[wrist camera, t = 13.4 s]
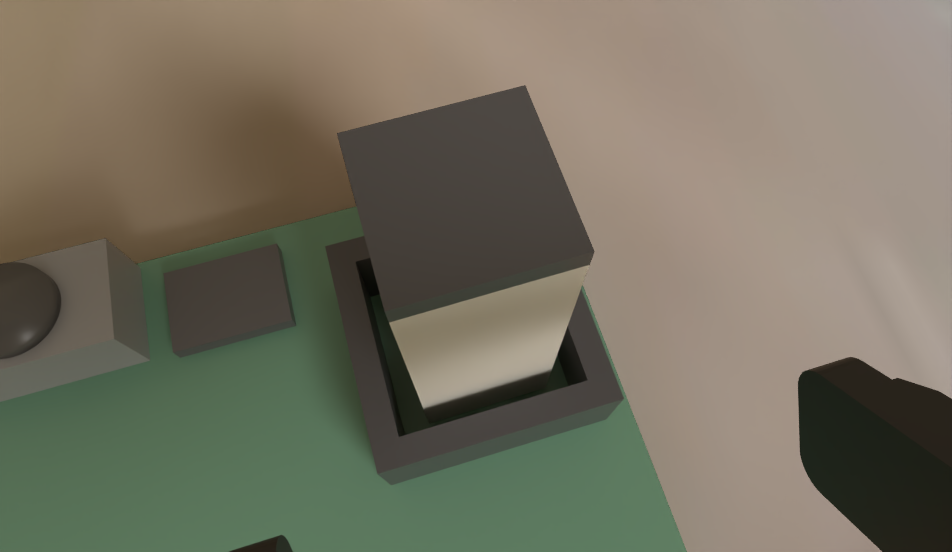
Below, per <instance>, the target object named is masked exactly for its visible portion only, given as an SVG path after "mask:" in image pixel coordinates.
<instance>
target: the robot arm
mask: <svg viewBox="0 0 952 552" xmlns="http://www.w3.org/2000/svg"><path fill="white" fill-rule="evenodd" d="M798 400H799V435H800V455H801V459H802V463H803V466H804V468H805V471H806V473H807V475H808V477H809V478H810V480H811V482H812V483H813V484H814V486H815V487H816V488H817V490H818V491H819V492H820V493H821V494H822V495H823V496H824V497H825V498H826V499H827V500H829V501H830V502H831V503H832V504H833V505H834V506H835V507H836V508H837V509H838V510H839V511H840V512H841V513H842V514H843V515H844V516H845V517H846V518H848V519H849V520H850V521H851V522H852V523H853V524H854V525H855V526H856V527H857V528H858V529H859V530H860V531H861V532H862V533H863V534H864V535H865V536H867V537H868V538H869V539H870V540H871V541H872V542H873V543H874V544H875V545H876V546H877V547H878V548H879V549H880V550H881V551H882V552H952V399H951V398H949V397H948V396H946V395H944V394H943V393H941V392H939V391H936V390H933V389H930V388H927V387H924V386H921V385H918V384H915V383H912V382H909V381H906V380H902V379H899V378H896V379H893V380H892V379H890V378H889V377H887V376H885V375H884V374H882V373H881V372H879V371H877V370H876V369H874V368H873V367H871V366H869V365H868V364H866V363H865V362H863V361H861V360H859V359H857V358H853V357H849V358H845V359H842V360H838V361H835V362H832V363H829V364H826V365H823V366H819V367H816V368H813V369H810V370H807V371H804V372H803V373H802V374H801V375H800V377H799V381H798ZM229 552H293V551H292V548H291V546H290V544H289V542H288V540H287V539H286V537H285V536H283V535H279V536H276V537H273V538H270V539H266V540H263V541H260V542H257V543H254V544H251V545H247V546H244V547H241V548H238V549H235V550H232V551H229Z"/></svg>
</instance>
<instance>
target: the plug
mask: <svg viewBox="0 0 952 552" xmlns="http://www.w3.org/2000/svg"><path fill="white" fill-rule="evenodd" d="M337 135H338V139H339V143H340V147H341V150H342V154H343V158H344V162H345V165H346V169H347V173H348V177H349V180H350V184H351V188H352V191H353V195H354V199H355V203H356V206H357V210H358V214H359V218H360V221H361V225H362V229H363V233H364V236H365V240H366V244H367V248H368V251H369V255H370V259H371V263H372V266H373V270H374V274H375V278H376V281H377V285H378V289H379V293H380V296H381V300H382V304H383V308H384V311H385V314H386V316H387V319H388V321H389V324H390V326H391V329H392V331H393V334H394V337H395V339H396V342H397V344H398V347H399V349H400V352H401V354H402V357H403V359H404V362H405V364H406V367H407V369H408V372H409V374H410V377H411V379H412V382H413V384H414V387H415V389H416V392H417V394H418V397H419V399H420V402H421V404H422V407H423V409H424V412H425V414H426V417H427V419H428V422H429V423H432V422H436V421H439V420H442V419H445V418H449V417H452V416H455V415H458V414H462V413H465V412H468V411H471V410H475V409H478V408H481V407H485V406H488V405H491V404H494V403H498V402H501V401H504V400H507V399H511V398H514V397H517V396H520V395H524V394H527V393H530V392H533V391H537V390H540V389H543V388H545V387H546V384H547V382H548V379H549V376H550V373H551V371H552V368H553V365H554V362H555V359H556V357H557V354H558V351H559V348H560V346H561V343H562V340H563V337H564V335H565V332H566V329H567V326H568V323H569V321H570V318H571V315H572V312H573V310H574V307H575V304H576V301H577V298H578V296H579V293H580V290H581V287H582V285H583V282H584V279H585V276H586V273H587V271H588V268H589V265H590V262H591V260H592V257H593V254H594V249H593V247H592V244H591V242H590V240H589V237H588V235H587V232H586V230H585V228H584V225H583V223H582V220H581V218H580V216H579V213H578V211H577V208H576V206H575V204H574V201H573V199H572V196H571V194H570V192H569V189H568V187H567V184H566V182H565V180H564V177H563V175H562V172H561V170H560V168H559V165H558V163H557V160H556V158H555V156H554V153H553V151H552V148H551V146H550V144H549V141H548V139H547V136H546V134H545V132H544V129H543V127H542V124H541V122H540V120H539V117H538V115H537V112H536V110H535V108H534V105H533V103H532V100H531V98H530V96H529V93H528V91H527V88H526V86H525V85H524V86H520V87H517V88H513V89H509V90H505V91H501V92H497V93H493V94H489V95H485V96H481V97H477V98H473V99H470V100H466V101H462V102H458V103H454V104H450V105H446V106H442V107H438V108H434V109H430V110H426V111H422V112H419V113H415V114H411V115H407V116H403V117H399V118H395V119H391V120H387V121H383V122H379V123H375V124H372V125H368V126H364V127H360V128H356V129H352V130H348V131H344V132H340V133H337Z"/></svg>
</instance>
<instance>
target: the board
mask: <svg viewBox="0 0 952 552" xmlns="http://www.w3.org/2000/svg"><path fill="white" fill-rule="evenodd" d="M279 535H283V536H285V537H286V539H287V540H288V542H289V544H290V546H291V548H292V551H293V552H687V551H686V548H685V546H684V543H683V541H682V538H681V536H680V533H679V531H678V528H677V525H676V523H675V520H674V518H673V515H672V513H671V510H670V507H669V505H668V502H667V500H666V497H665V495H664V492H663V490H662V487H661V484H660V482H659V479H658V477H657V474H656V472H655V469H654V467H653V464H652V461H651V459H650V456H649V454H648V451H647V449H646V446H645V443H644V441H643V438H642V436H641V433H640V431H639V428H638V426H637V423H636V420H635V418H634V415H633V413H632V410H631V408H630V405H629V403H628V400H627V397H626V395H625V392H624V390H623V387H622V385H621V382H620V379H619V377H618V374H617V372H616V369H615V367H614V364H613V362H612V359H611V356H610V354H609V351H608V349H607V346H606V344H605V341H604V339H603V336H602V333H601V331H600V328H599V326H598V323H597V321H596V318H595V316H594V313H593V310H592V308H591V305H590V303H589V300H588V298H587V295H586V292H585V290H584V287H583V285H582V287H581V290H580V293H579V296H578V298H577V301H576V304H575V307H574V310H573V312H572V315H571V318H570V321H569V323H568V326H567V329H566V332H565V335H564V337H563V340H562V343H561V346H560V348H559V351H558V354H557V357H556V359H555V362H554V365H553V368H552V371H551V373H550V376H549V379H548V382H547V384H546V387H545V388H543V389H540V390H537V391H533V392H530V393H527V394H524V395H520V396H517V397H514V398H511V399H507V400H504V401H501V402H498V403H494V404H491V405H488V406H485V407H481V408H478V409H475V410H471V411H468V412H465V413H462V414H458V415H455V416H452V417H449V418H445V419H442V420H439V421H436V422H432V423H429V422H428V419H427V417H426V414H425V412H424V409H423V407H422V404H421V402H420V399H419V397H418V394H417V392H416V389H415V387H414V384H413V382H412V379H411V377H410V374H409V372H408V369H407V367H406V364H405V362H404V359H403V357H402V354H401V352H400V349H399V347H398V344H397V342H396V339H395V337H394V334H393V331H392V329H391V326H390V324H389V321H388V319H387V316H386V314H385V311H384V308H383V304H382V300H381V296H380V293H379V289H378V285H377V281H376V278H375V274H374V270H373V266H372V263H371V259H370V255H369V251H368V248H367V244H366V240H365V236H364V233H363V229H362V225H361V221H360V218H359V214H358V210H357V206H356V207H352V208H349V209H345V210H341V211H337V212H333V213H329V214H326V215H322V216H318V217H314V218H310V219H306V220H303V221H299V222H295V223H291V224H287V225H283V226H280V227H276V228H272V229H268V230H264V231H260V232H257V233H253V234H249V235H245V236H241V237H237V238H234V239H230V240H226V241H222V242H218V243H214V244H211V245H207V246H203V247H199V248H195V249H191V250H188V251H184V252H180V253H176V254H172V255H168V256H165V257H161V258H157V259H153V260H149V261H145V262H142V263H138V264H135V263H134V262H133V261H132V260H131V259H130V258H128V257H127V256H126V255H125V254H124V253H123V252H121V251H120V250H119V249H118V248H117V247H115V246H114V245H113V244H112V243H111V242H110V241H108V240H107V239H106V238H104V239H100V240H96V241H92V242H88V243H84V244H81V245H77V246H73V247H69V248H65V249H61V250H57V251H53V252H49V253H45V254H41V255H38V256H34V257H30V258H26V259H22V260H18V261H14V262H10V263H3V264H0V552H229V551H232V550H235V549H238V548H241V547H244V546H247V545H251V544H254V543H257V542H260V541H263V540H266V539H270V538H273V537H276V536H279Z"/></svg>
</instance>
